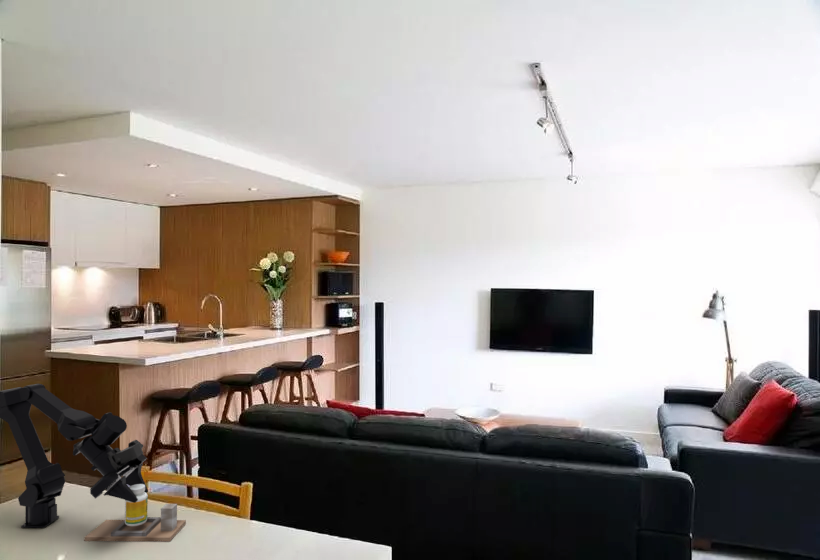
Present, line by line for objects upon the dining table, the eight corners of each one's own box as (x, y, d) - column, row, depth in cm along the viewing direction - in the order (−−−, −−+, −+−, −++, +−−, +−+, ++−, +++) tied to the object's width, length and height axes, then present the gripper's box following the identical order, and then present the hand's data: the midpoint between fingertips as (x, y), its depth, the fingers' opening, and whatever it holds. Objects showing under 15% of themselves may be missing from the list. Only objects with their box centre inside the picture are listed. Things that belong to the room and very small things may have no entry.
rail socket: (84, 540, 138) (84, 513, 138) (106, 523, 148) (106, 498, 148) (170, 541, 138) (170, 514, 138) (185, 523, 148) (186, 498, 148)
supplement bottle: (122, 521, 144) (123, 485, 144) (144, 516, 147) (145, 481, 147) (127, 528, 140) (127, 492, 140) (149, 523, 143) (150, 487, 143)
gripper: (103, 445, 134) (146, 490, 134) (140, 424, 152) (178, 464, 153) (71, 475, 134) (114, 520, 134) (111, 451, 152) (150, 491, 153)
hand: (141, 496), depth 143 cm, fingers closed on supplement bottle, 5 cm apart
